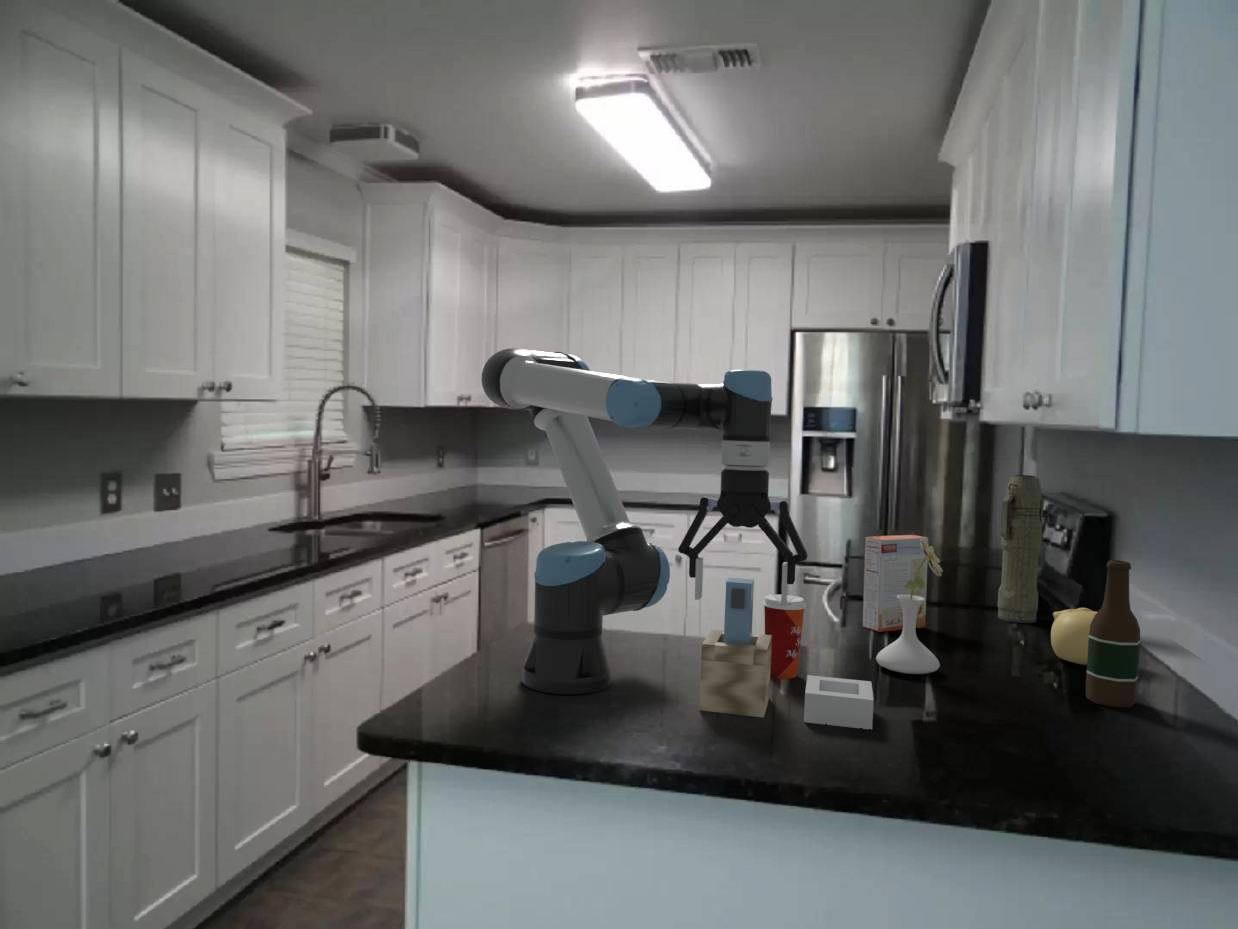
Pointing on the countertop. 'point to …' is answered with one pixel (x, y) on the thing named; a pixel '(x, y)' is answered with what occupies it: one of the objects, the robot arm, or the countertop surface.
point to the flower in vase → (912, 628)
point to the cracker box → (891, 580)
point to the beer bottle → (1114, 644)
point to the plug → (738, 611)
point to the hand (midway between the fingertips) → (740, 601)
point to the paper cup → (784, 634)
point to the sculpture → (1072, 634)
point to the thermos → (1020, 549)
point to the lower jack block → (839, 702)
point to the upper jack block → (735, 675)
